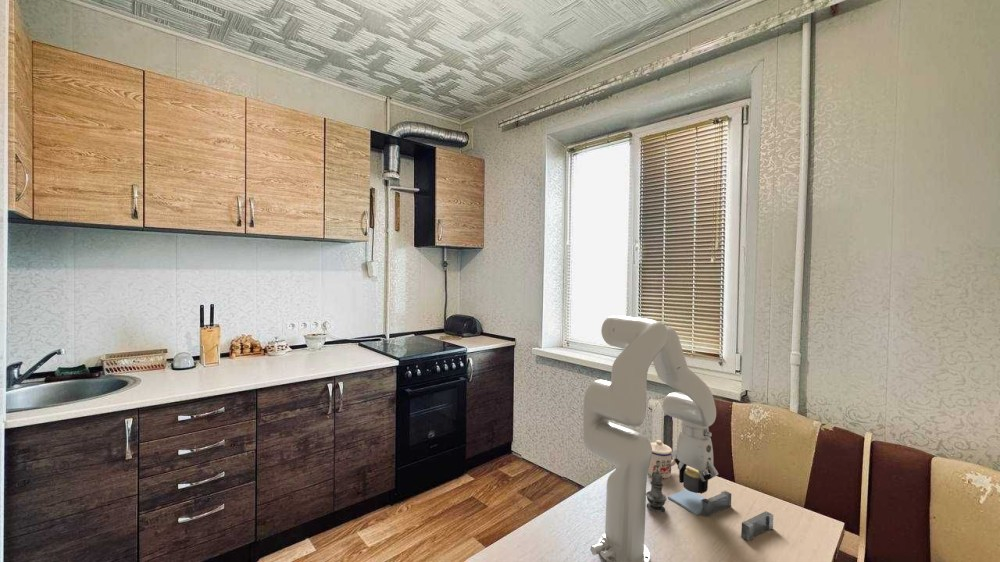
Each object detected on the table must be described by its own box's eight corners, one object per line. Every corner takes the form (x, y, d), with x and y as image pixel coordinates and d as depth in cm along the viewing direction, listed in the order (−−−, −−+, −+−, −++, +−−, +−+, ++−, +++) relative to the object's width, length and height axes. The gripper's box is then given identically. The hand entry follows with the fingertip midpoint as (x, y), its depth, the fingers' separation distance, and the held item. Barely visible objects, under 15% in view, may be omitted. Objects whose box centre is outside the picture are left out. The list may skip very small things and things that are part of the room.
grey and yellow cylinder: (696, 495, 121) (697, 479, 121) (679, 485, 126) (679, 470, 126) (708, 489, 124) (709, 474, 124) (691, 480, 129) (691, 465, 129)
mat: (696, 515, 118) (696, 513, 118) (667, 497, 127) (667, 496, 127) (716, 506, 123) (716, 504, 123) (687, 490, 132) (687, 488, 132)
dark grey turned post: (668, 515, 118) (669, 474, 117) (647, 512, 119) (648, 472, 119) (664, 503, 123) (665, 465, 123) (644, 501, 125) (645, 463, 124)
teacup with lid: (653, 480, 138) (654, 446, 137) (639, 467, 147) (640, 436, 146) (684, 478, 140) (685, 445, 139) (669, 465, 148) (670, 434, 148)
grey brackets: (748, 541, 107) (749, 526, 107) (700, 513, 119) (701, 500, 119) (772, 528, 113) (773, 514, 112) (724, 503, 125) (725, 490, 125)
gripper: (729, 438, 119) (726, 497, 119) (678, 419, 134) (676, 471, 134) (713, 443, 115) (711, 504, 115) (663, 422, 130) (661, 476, 131)
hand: (692, 486), depth 125 cm, fingers closed on grey and yellow cylinder, 6 cm apart
